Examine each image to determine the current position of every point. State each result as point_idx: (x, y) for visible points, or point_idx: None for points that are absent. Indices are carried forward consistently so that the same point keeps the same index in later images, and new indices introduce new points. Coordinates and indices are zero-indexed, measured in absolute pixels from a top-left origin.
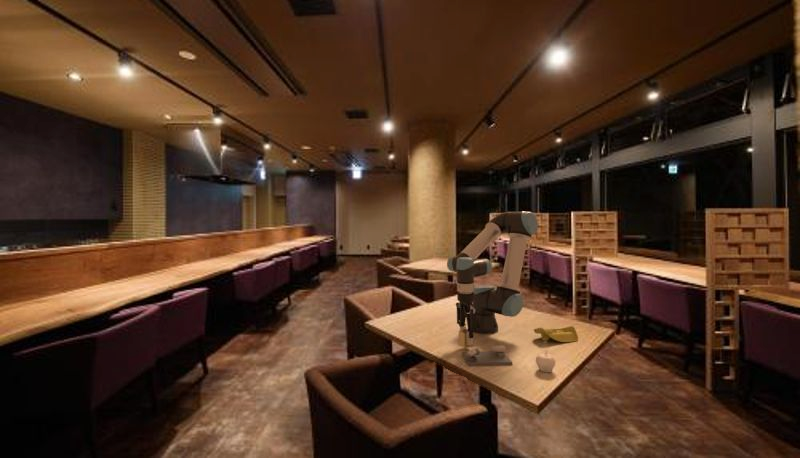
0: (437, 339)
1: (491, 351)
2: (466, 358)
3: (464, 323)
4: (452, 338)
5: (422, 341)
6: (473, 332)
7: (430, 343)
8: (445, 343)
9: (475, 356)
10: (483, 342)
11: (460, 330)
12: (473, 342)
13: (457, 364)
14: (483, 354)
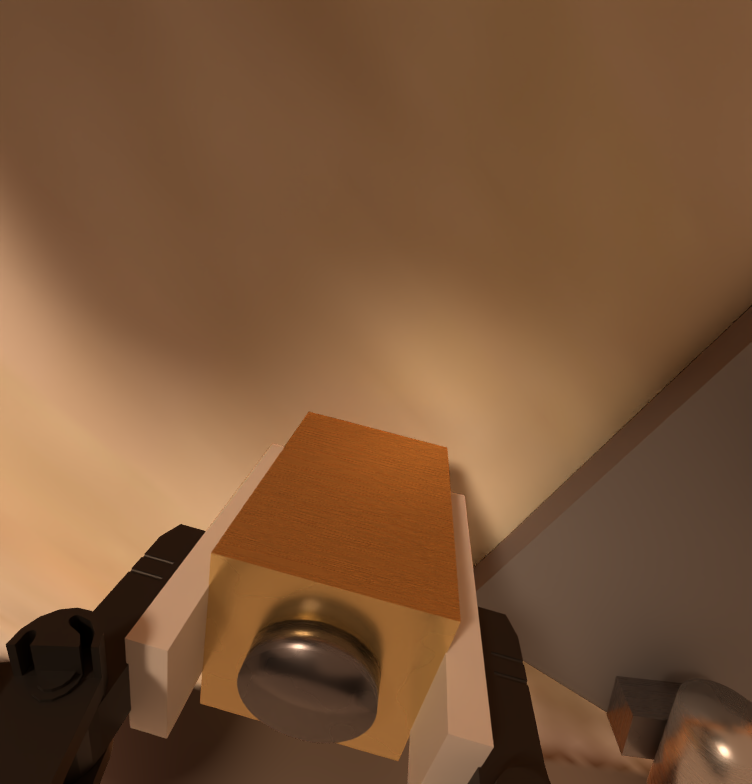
0: (6, 468)
1: (723, 381)
2: (616, 728)
3: (71, 763)
4: (21, 326)
5: (17, 586)
6: (458, 621)
7: (82, 576)
8: (132, 491)
9: (637, 621)
10: (324, 67)
11: (209, 686)
12: (448, 482)
13: (563, 737)
14: (681, 528)
